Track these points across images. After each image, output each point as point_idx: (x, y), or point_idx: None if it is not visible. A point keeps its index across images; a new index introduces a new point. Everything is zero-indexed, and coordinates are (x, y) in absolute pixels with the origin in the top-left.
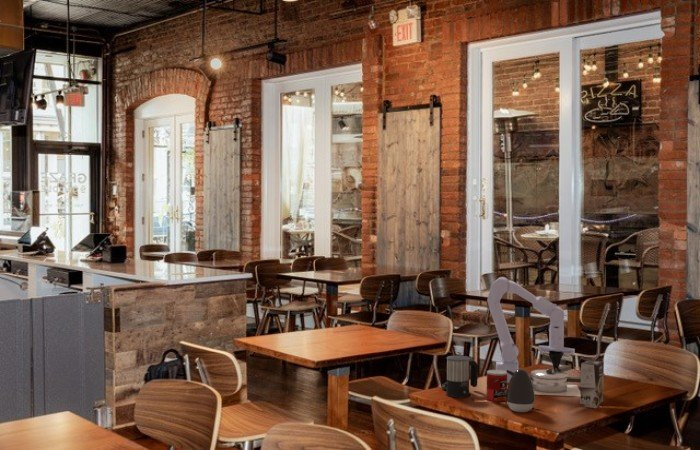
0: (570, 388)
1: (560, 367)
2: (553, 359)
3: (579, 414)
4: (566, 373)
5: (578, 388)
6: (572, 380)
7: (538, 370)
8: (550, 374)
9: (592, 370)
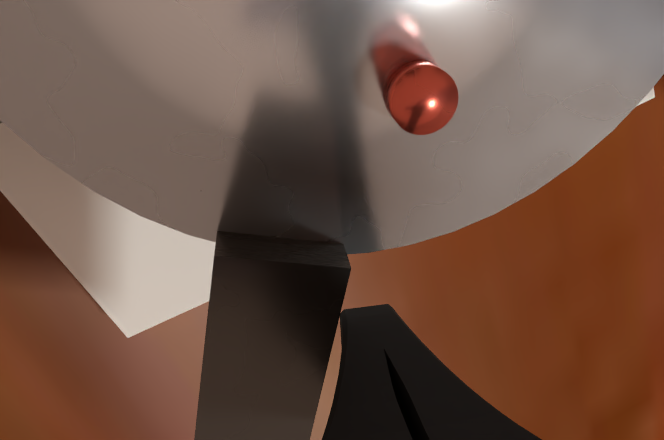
0: None
1: (284, 373)
2: (456, 433)
3: None
4: (8, 105)
5: (8, 194)
6: None
7: (639, 28)
8: None
9: None
